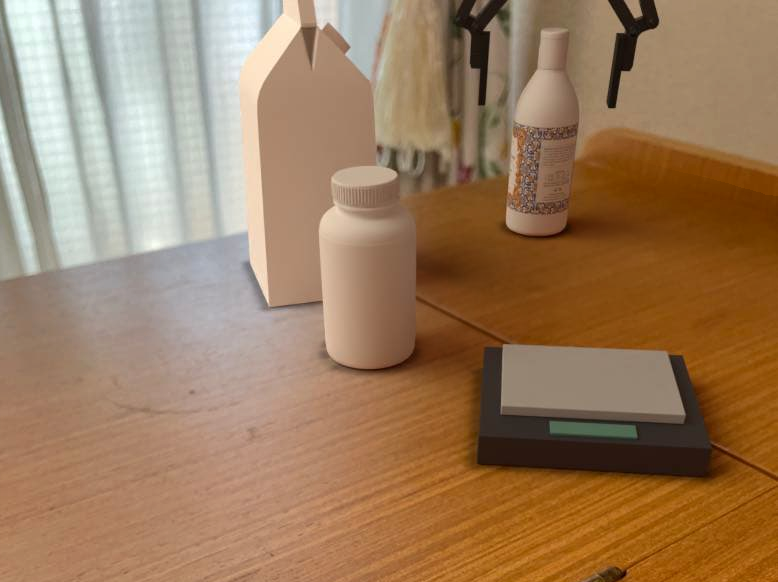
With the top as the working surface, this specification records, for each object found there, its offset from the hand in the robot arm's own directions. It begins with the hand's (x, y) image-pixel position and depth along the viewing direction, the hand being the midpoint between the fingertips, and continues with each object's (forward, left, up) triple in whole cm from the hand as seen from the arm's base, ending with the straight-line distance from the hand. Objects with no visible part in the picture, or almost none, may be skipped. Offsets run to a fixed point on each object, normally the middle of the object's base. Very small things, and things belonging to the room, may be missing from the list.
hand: (545, 104), depth 93 cm
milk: (+23, +17, -13) cm, 31 cm away
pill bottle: (+15, +33, -13) cm, 39 cm away
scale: (-3, +43, -13) cm, 45 cm away
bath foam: (0, 0, -13) cm, 13 cm away
